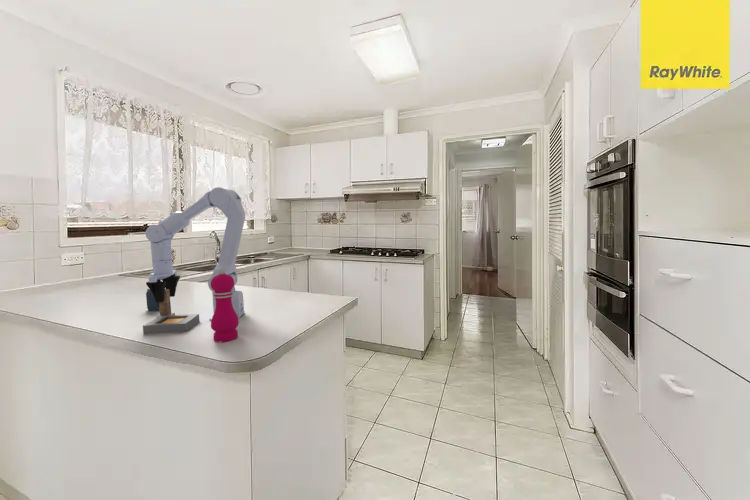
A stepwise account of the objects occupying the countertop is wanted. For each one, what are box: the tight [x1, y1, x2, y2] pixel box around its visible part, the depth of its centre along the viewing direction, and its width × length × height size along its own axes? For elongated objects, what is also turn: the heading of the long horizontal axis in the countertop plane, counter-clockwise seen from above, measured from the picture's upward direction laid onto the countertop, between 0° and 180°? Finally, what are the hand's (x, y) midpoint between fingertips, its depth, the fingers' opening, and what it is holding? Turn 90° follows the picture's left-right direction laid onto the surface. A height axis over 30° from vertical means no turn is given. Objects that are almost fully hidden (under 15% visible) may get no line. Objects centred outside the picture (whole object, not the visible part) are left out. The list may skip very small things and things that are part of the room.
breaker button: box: [162, 318, 185, 323], centre depth 102 cm, size 5×5×2 cm
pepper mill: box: [210, 269, 240, 343], centre depth 91 cm, size 7×7×20 cm
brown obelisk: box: [156, 289, 176, 318], centre depth 112 cm, size 4×4×10 cm
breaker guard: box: [142, 313, 201, 335], centre depth 102 cm, size 12×10×2 cm
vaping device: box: [145, 288, 160, 312], centre depth 122 cm, size 3×5×12 cm, turn 79°
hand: (165, 299), depth 112 cm, fingers open, 7 cm apart
